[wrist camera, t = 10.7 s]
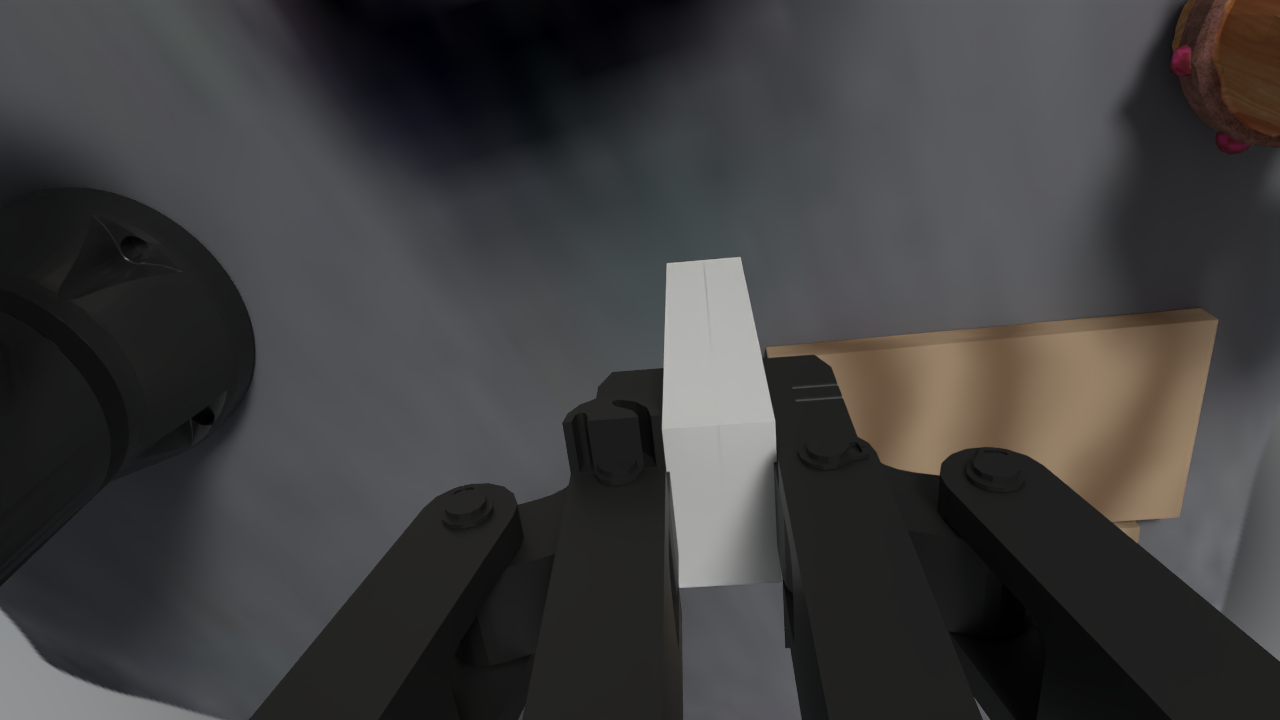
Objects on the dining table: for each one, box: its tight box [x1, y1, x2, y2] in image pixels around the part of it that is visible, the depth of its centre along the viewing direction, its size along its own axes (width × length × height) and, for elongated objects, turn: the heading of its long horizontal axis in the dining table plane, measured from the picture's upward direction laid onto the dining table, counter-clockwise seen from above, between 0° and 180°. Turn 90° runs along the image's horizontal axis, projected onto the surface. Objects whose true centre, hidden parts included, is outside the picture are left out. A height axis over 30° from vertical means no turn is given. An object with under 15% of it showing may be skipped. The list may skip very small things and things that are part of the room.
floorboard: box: [766, 308, 1219, 522], centre depth 45 cm, size 22×12×2 cm, turn 97°
